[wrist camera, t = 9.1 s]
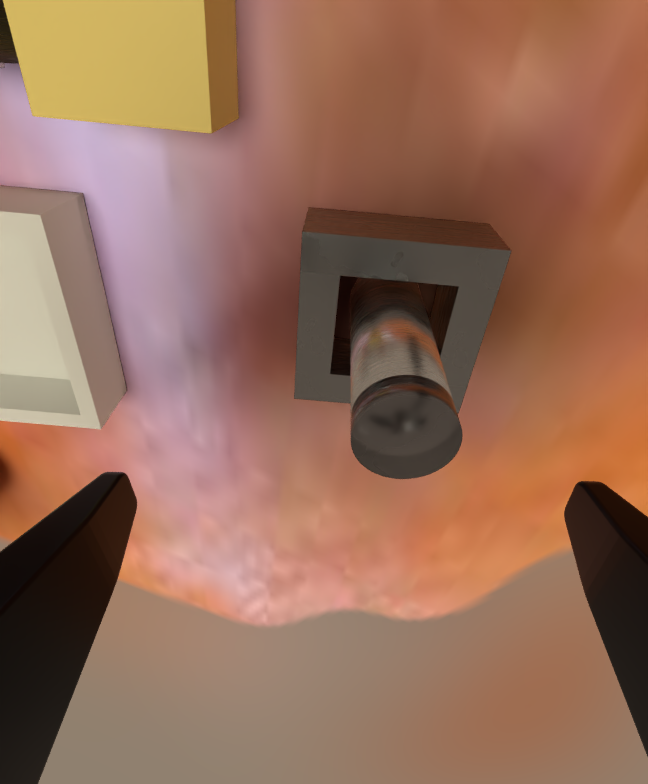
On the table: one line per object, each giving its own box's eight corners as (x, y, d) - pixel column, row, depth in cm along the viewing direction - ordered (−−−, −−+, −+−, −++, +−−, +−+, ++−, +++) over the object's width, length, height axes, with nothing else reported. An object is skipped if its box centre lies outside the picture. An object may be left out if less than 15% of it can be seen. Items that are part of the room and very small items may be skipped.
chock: (235, -38, 14) (199, -66, 10) (239, 117, 16) (211, 133, 13) (67, -55, 14) (-20, -89, 10) (96, 104, 16) (32, 116, 13)
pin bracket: (489, 224, 18) (511, 250, 15) (446, 373, 22) (458, 412, 19) (308, 207, 18) (302, 231, 15) (300, 360, 22) (294, 398, 19)
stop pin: (426, 269, 19) (475, 402, 12) (412, 332, 21) (447, 482, 13) (354, 262, 19) (357, 392, 12) (346, 326, 21) (345, 474, 13)
